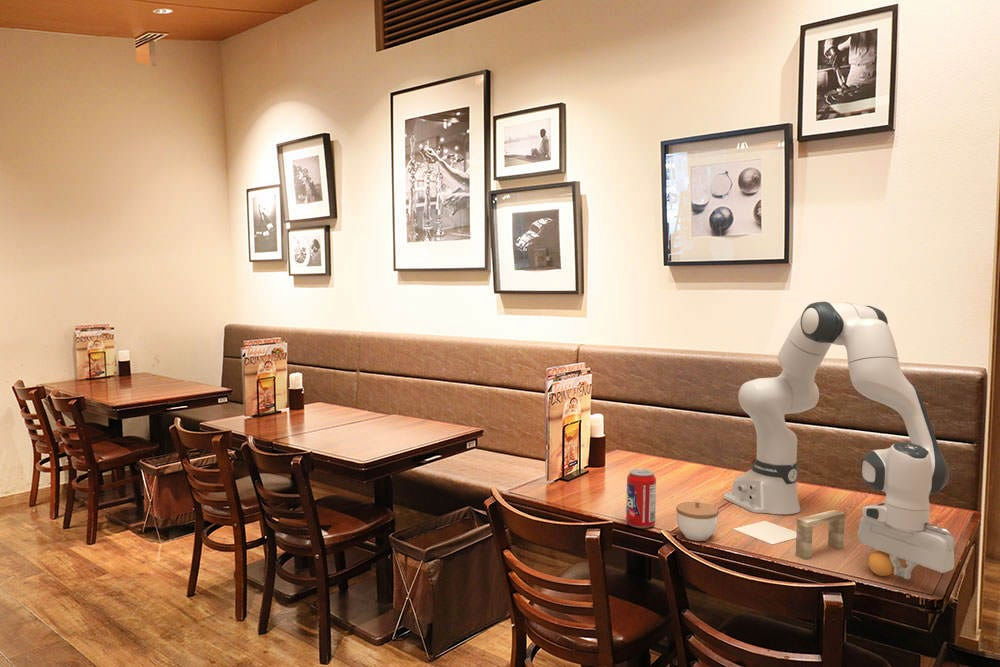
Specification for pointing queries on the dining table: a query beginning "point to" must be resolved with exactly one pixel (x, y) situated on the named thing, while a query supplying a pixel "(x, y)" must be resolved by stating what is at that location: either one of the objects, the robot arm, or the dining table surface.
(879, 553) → the ball
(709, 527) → the lidded jar
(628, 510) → the soda can
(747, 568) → the dining table surface
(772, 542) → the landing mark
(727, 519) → the dining table surface
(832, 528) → the bridge
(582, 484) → the dining table surface
